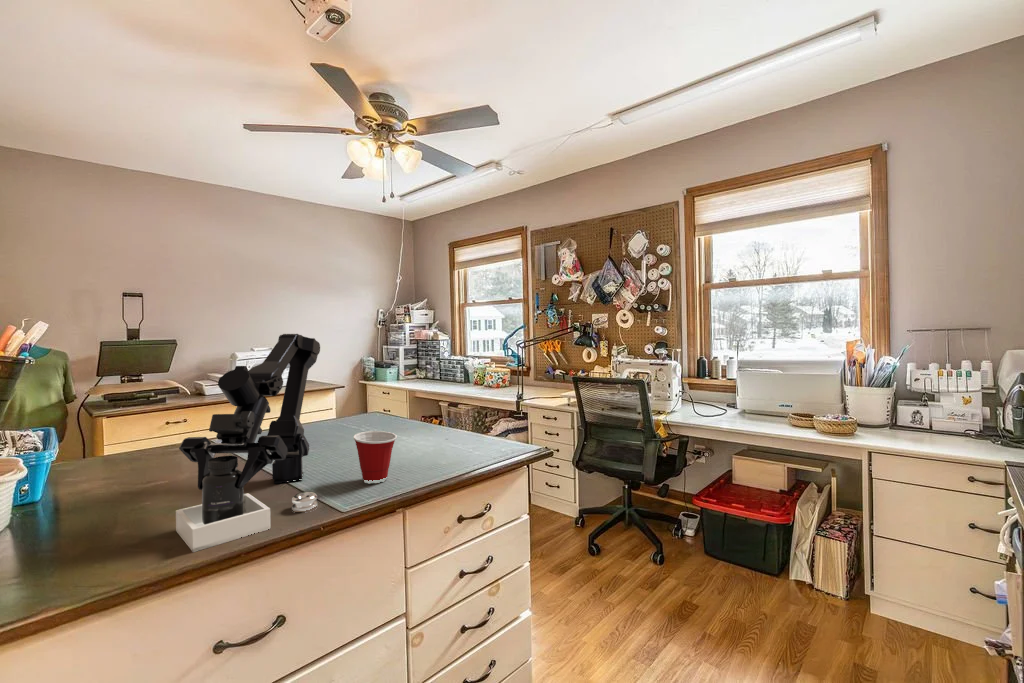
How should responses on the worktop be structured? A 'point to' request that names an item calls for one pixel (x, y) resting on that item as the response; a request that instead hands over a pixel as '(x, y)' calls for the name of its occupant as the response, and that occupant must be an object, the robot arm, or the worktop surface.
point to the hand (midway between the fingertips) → (219, 488)
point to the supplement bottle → (222, 490)
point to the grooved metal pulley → (304, 501)
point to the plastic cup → (374, 453)
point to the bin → (221, 525)
